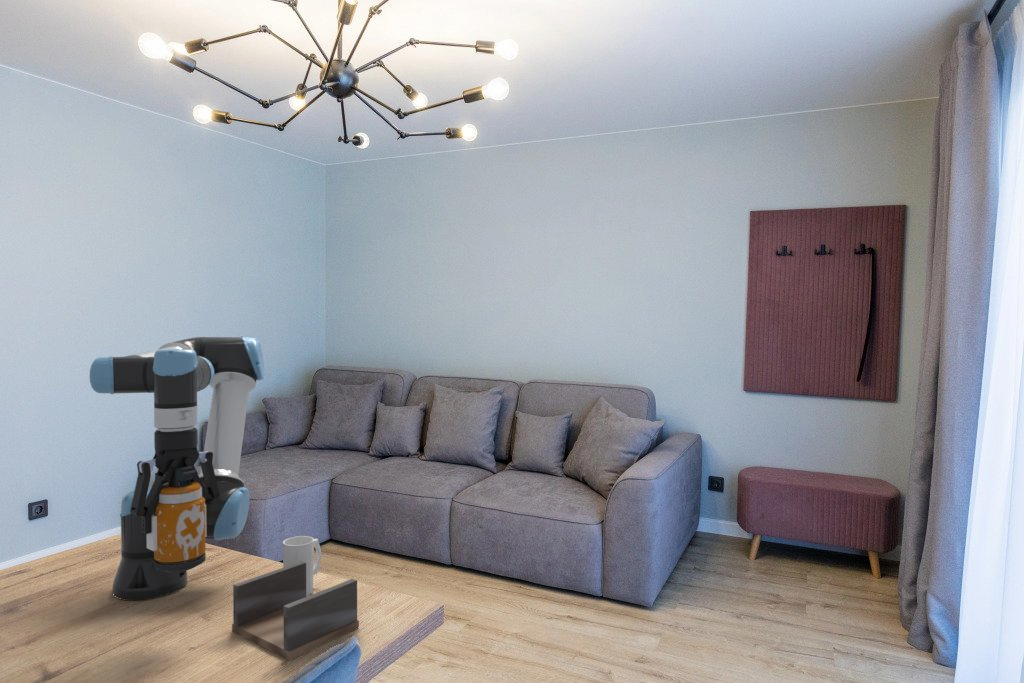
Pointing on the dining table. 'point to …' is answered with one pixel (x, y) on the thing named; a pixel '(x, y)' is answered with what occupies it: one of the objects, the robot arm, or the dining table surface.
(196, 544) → the canister
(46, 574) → the dining table surface
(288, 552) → the mug
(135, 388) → the robot arm
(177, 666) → the dining table surface
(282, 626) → the holder
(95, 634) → the dining table surface
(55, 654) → the dining table surface
